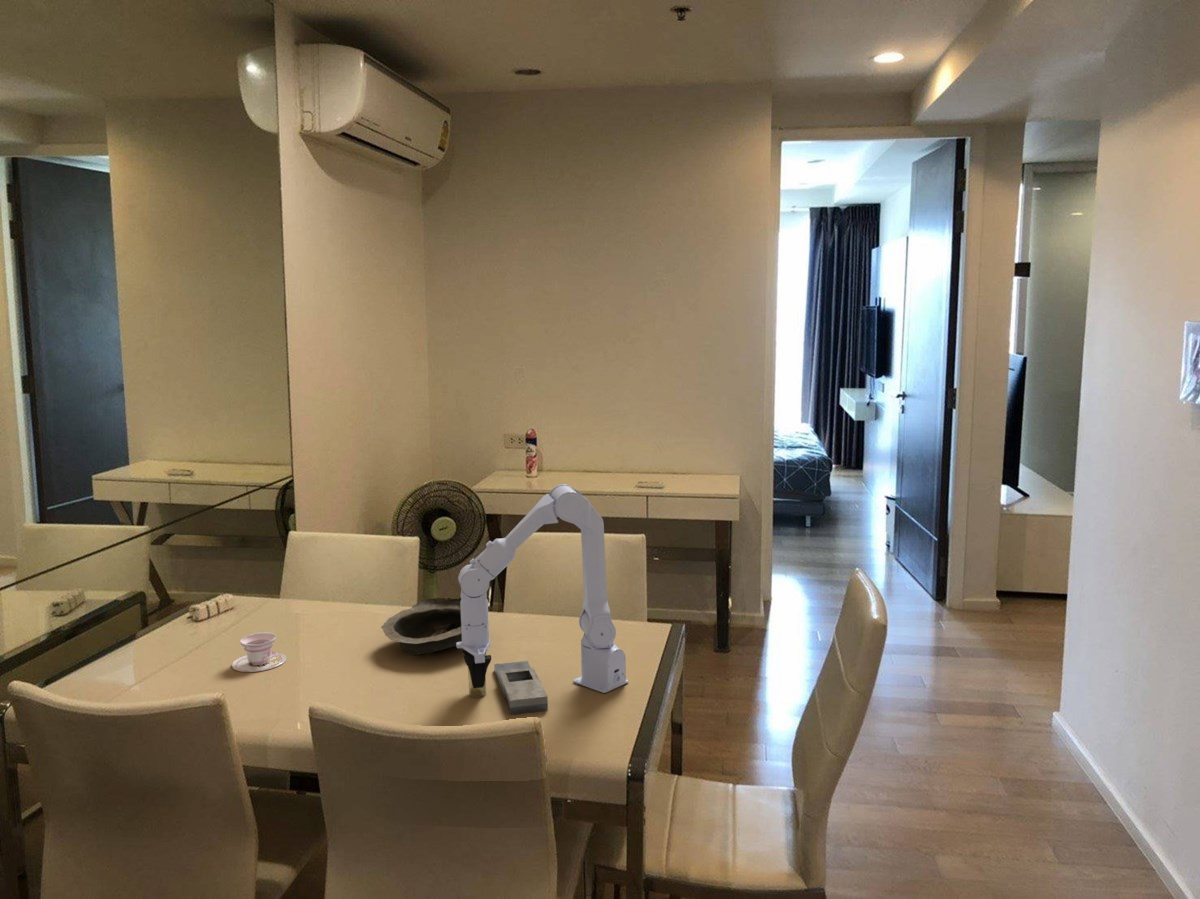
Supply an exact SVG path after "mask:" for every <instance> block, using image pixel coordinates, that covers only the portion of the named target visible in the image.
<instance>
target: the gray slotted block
mask: <svg viewBox="0 0 1200 899" xmlns="http://www.w3.org/2000/svg"><path fill="white" fill-rule="evenodd" d="M493 666H494V670H493V672H494V673H495V675H496V680H497V681H498V684H499V686H500V690H501V692H502V695H503V698H504V700H507V702H508V704H507V706H508V708H507V709H508V711H509V714H510V715H511V716H513V715H521V714H527V713H528V714H529V713H536V712H537V713H538V712H546V711H549V708H548V707H549V706H548V703H549V702H548V694H547V692H546V691H545V688H544V686H543V684H542V682H541V680H540V678H539V676H538V674H537V672H536V669H535V668H534V667H533V666H532V667H531V665H530V663H529V661H528V660H524V661H522V660H521V661H514V662H513V661H511V662H506V663H505V662H504V663H496V664H495V663H494V665H493Z"/></svg>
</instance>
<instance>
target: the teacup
mask: <svg viewBox="0 0 1200 899" xmlns="http://www.w3.org/2000/svg"><path fill="white" fill-rule="evenodd" d="M276 638H277V635H276V633H274V632H271V631H269V632H268V631H262V632H261V631H260V632H255V633H251V634H248V635H245V636H243V637H242V638H241V639H240V640H239V643H240V645H241V646H242V647H244V648H243V650H245V652H246V654H245V655H243V656H242V655H241V657H238V658H236V659H235V660H233V662H232V664H231V668H232V669H233V670H235V671H237V672H242V673H255V672H256V673H257V672H264V671H268V670H272V669H275V668H278V667H279V666H281V665H283V664H284V663H285V662H286V661H287V656H286V655H285V653H280V652H277V651H272V647H273V645H274V643H275V641H276ZM272 656H278V657H280V658H281V660H280V661H279V662H278V661H275V663H273V662H270V661H271V660H273V659H276V657H273V658H272V659H271V657H272ZM278 657H277V658H278ZM245 659H246V660H245ZM268 661H269V663H270V664H268ZM277 663H279V664H277ZM244 664H245V665H244ZM249 664H252V665H253V666H251V665H249ZM263 664H264V665H265V666H263ZM274 664H277V665H275V666H273V667H270V666H271V665H274ZM238 665H239V668H238V667H237V666H238ZM257 665H259V666H260V667H259V669H258V668H257V667H258V666H257ZM269 667H270V668H269Z"/></svg>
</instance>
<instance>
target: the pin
mask: <svg viewBox="0 0 1200 899" xmlns="http://www.w3.org/2000/svg"><path fill="white" fill-rule="evenodd" d="M467 673H468V674H467V676H468V677H467V678H468V679H467V680H468V696H469V697H470V698H472V699H473V698H474V699H479V698H484V697H485V696H486V695H487V684H486V683H487V681H486V676H487V675H486V676H485V682H484V687H483V688H473V685H472V681H471V676H470V671H469V668H468V667H467Z"/></svg>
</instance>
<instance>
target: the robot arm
mask: <svg viewBox="0 0 1200 899" xmlns="http://www.w3.org/2000/svg"><path fill="white" fill-rule="evenodd" d="M557 518H560V519H561V520H562V521H564V522H567V523H570V524H573V525H575V527H577V528H578V529H580V537H581V538H580V539H581V540H580V541H581V558H582V560H581V561H582V577H583V578H582V579H583V600H582V611H581V613H580V616H579V619H578V624H579V628H580V629H581V631H582V632H583V636H582V638H581V640H580V656H581V657H580V659H581V660H580V663H581V665H580V666H581V676H579V677H576V678H574V679H572V682H573V683H574V684H576V685H577V684H578V685H580V686H583V687H586V688H588V689H591V690H594V691H597V692H600V693H602V694H605V693H608V692H610V691H612V690H613V691H614V690H615V689H618V688H619V687H621V686H624V685H625V684H628V683H629V680H628V679H626V678H627V677H626V675H627V674H626V673H627V672H626V671H627V669H626V667H627V666H626V654H625V652H624V650H623V649H621V648H620V647H618V646H617V645H616V643H615V639H616V635H617V631H616V630H617V629H616V626H615V625H614V623H613V621H612V616H611V615H612V614H611V609H610V606H609V603H608V588H607V568H606V567H607V565H606V549H605V546H606V543H605V526H604V525H605V524H604V519H603V518H602V516H601V515H600V514H599V512H598V511H597V510H596V509H595V507H594V506H593V505H592V503H591V502H590V500H589V499H588V498H586V496H584V495H583V494H582V492H580V491H579V490H577V489H575V488H574V487H573V486H571V485H569V484H564V483H562V484H558V485H555V486H554V487H553V488H552V489H551V490H550V492H549V493H546V494H545V495H543V496H542V497H541V499H539V501H538V502H537V503H536V504H535V505H534V506H533V507H532V509H530V510H529V512H528V513H527V514H526V515H525V516H524V517H523V518H522V519H521V520H520V521H519V522H518V524H516V525H515V526H514V528H513V529H511V531H510V532H509V533H508V534H507V535H506V536H505V537H503V538H495V539H494V540H493V541H491V540H488V541H487V543H486V544H485V546H486V548H484V550H482V552H480V553H479V555H478V556H476V557H475V558H472V559H470V560H469V564H466V565H464V566H463V567H462V568H461V569H460V572H459V574H458V576H457V580H458V581H457V582H458V583H459V586H460V598H461V602H460V606H461V631H462V641H461V642H457V643H456V645H455V647H456V648H457V649H460V650H461V653H462V654H463V661H464V662H465V665H466V666H467V669H468V668H469V671H470V676H471V681H472V685H473V688H483V687H484V682H485V676H487V675H486V674H487V672H488V668H489V666H490V664H491V661H492V655H491V654H487V652H488V649H489V648H490V646H491V639H490V627H489V625H490V624H489V622H490V621H489V601H488V599H487V596H488V595H487V592H488V590H489V587H490V581H492V580H494V579H495V578H496V577H497V576H498V575H500V573H501V572H503V570H505V568H506V567H507V566H508V565H509V564H511V562H513V560H515V559H516V550H517V549H519V547H520V546H522V544H523V543H525V542H526V541H527V540H528V539H529V538H530V537H532V535H534V534H535V533H536V531H538V530H539V529H540V528H541V527H542V526H544V525H550V524H558V523H559V520H558V519H557Z"/></svg>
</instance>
